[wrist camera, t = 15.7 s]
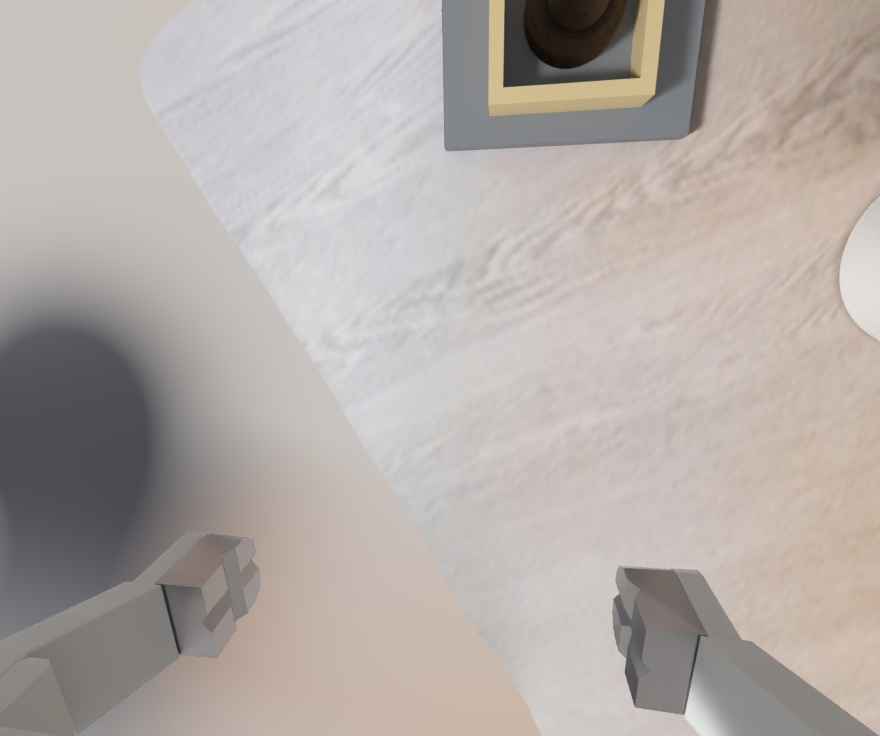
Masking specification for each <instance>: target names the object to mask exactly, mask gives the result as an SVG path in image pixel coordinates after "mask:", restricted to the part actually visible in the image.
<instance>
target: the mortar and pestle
mask: <svg viewBox="0 0 880 736" xmlns="http://www.w3.org/2000/svg"><path fill="white" fill-rule="evenodd" d="M627 1H628V0H526V6H525V12H524V30H525V36H526V39H527V42H528V45H529V47H530V49H531V50H532V52H533V53H534V54H535V56H536V57H537V58H538V59H539V60H541V61H542V62H543V63H545V64H547V65H549V66H551V67H554V68H558V69H572V68H576V67H579V66H582V65H584V64H586V63H588V62H590V61H591V60H593V59H594V58H595V57H597V56H598V55H599V54H600V53H601V52H602V51H603V50H604V49H605V47H606V46H607V45H608V43H609V42H610V40H611V39H612V37H613V36H614V34H615V32H616V30H617V28H618V26H619V24H620V22H621V20H622V18H623V15H624V12H625V9H626V5H627Z"/></svg>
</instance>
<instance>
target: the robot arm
mask: <svg viewBox="0 0 880 736" xmlns="http://www.w3.org/2000/svg"><path fill="white" fill-rule="evenodd" d="M839 279H840V290H841V295H842V299H843V302H844V304H845V307H846V309H847V311H848V313H849V314H850V316H851V317H852V319H853V320H854V321H855V322H856V324H857V325H858V326H859V327H860V328H861V329H863V330H864V331H865V332H866V333H868V334H869V335H871V336H872V337H874V338H875V339H876V340H878V341H879V342H880V196H879V197H878V198H877V199H876V200H875V201H874V202H873V203H872V204H871V205H870V206H869V207H868V208H867V210H866V211H865V212H864V214H863V215H862V216H861V218H860V219H859V221H858V222H857V224H856V225H855V227H854V229H853V231H852V233H851V234H850V236H849V239H848V241H847V243H846V246H845V249H844V252H843V256H842V260H841V265H840V278H839ZM255 553H256V550H255V545H254V541H253V540H252V539H250V538H248V537H239V536H229V535H220V534H206V533H195V532H190V533H187V534H184V535H183V536H182V537H181V538H180V539H178V540H177V541H176V542H175V543H174V544H173V545H172V546H171V547H170V548H169V549H168V550H167V551H166V552H164V553H163V554H162V555H161V556H160V557H159V558H158V559H157V560H156V561H155V562H154V563H153V564H152V565H150V566H149V567H148V568H147V569H146V570H145V571H144V572H143V573H142V574H141V575H140V576H139V577H137V578H136V579H135V580H134V581H133V582H124V583H122V584H120V585H118V586H116V587H114V588H112V589H110V590H107V591H105V592H103V593H101V594H99V595H97V596H95V597H93V598H90V599H88V600H86V601H84V602H82V603H80V604H78V605H75V606H73V607H71V608H69V609H67V610H65V611H63V612H60V613H58V614H56V615H54V616H52V617H50V618H48V619H46V620H43V621H42V622H39V623H37V624H35V625H33V626H31V627H29V628H26V629H25V630H22V631H20V632H18V633H16V634H14V635H11V636H10V637H7V638H5V639H3V640H1V641H0V736H78V734H79V733H80V732H82V731H83V730H84V729H86V728H87V727H88V726H89V725H91V724H92V723H93V722H95V721H96V720H97V719H99V718H100V717H101V716H103V715H104V714H105V713H106V712H108V711H109V710H110V709H112V708H113V707H115V706H116V705H117V704H119V703H120V702H121V701H122V700H124V699H125V698H126V697H128V696H129V695H130V694H132V693H133V692H134V691H136V690H137V689H138V688H140V687H141V686H142V685H144V684H145V683H146V682H148V681H149V680H150V679H151V678H153V677H154V676H155V675H157V674H158V673H159V672H161V671H162V670H163V669H165V668H166V667H167V666H169V665H170V664H171V663H173V662H174V661H175V660H177V659H178V658H179V655H185V656H197V657H210V658H218V656H219V655H220V653H221V652H222V650H223V649H224V647H225V646H226V644H227V643H228V642H229V640H230V639H231V637H232V635H233V634H234V633H235V631H236V623H235V621H236V620H238V619H239V618H241V617H242V616H244V615H245V614H247V613H248V612H249V610H250V609H251V607H252V606H253V604H254V602H255V600H256V597H257V594H258V591H259V588H260V572H259V568H258V567H257V566H256V564H255V563H254V562H253V561H252V560H251V559H252V558H253V556H254V555H255ZM616 584H617V587H618V590H619V594H618V595H617V596H616V597H615V598H614V599H613V611H612V614H613V629H614V634H615V639H616V643H617V647H618V651H619V652H620V653H621V654H622V655H623V656H624V657H625V658H626V665H625V675H626V679H627V682H628V686H629V689H630V692H631V696H632V699H633V703H634V706H635V708H642V709H649V710H656V711H662V712H669V713H676V714H683V715H685V719H686V720H687V721H688V722H689V723H690V725H691V726H692V727H693V728H694V729H695V731H696V732H697V733H698V734H699V735H700V736H879V735H877V734H876V733H874V732H873V731H872V730H870V729H869V728H868V727H866V726H865V725H864V724H862V723H861V722H860V721H858V720H857V719H856V718H854V717H853V716H851V715H850V714H849V713H847V712H846V711H845V710H843V709H842V708H841V707H839V706H838V705H837V704H835V703H834V702H833V701H831V700H830V699H828V698H827V697H826V696H824V695H823V694H822V693H820V692H819V691H818V690H816V689H815V688H814V687H812V686H811V685H809V684H808V683H807V682H805V681H804V680H803V679H801V678H800V677H799V676H797V675H796V674H795V673H793V672H792V671H791V670H789V669H788V668H786V667H785V666H784V665H782V664H781V663H780V662H778V661H777V660H776V659H774V658H773V657H772V656H770V655H769V654H768V653H766V652H765V651H763V650H762V649H761V648H759V647H758V646H757V645H755V644H754V643H753V642H751V641H746V640H742V639H741V638H740V636H739V634H738V633H737V631H736V629H735V628H734V626H733V625H732V623H731V621H730V620H729V618H728V616H727V615H726V613H725V611H724V610H723V608H722V606H721V605H720V603H719V601H718V600H717V598H716V597H715V595H714V593H713V592H712V590H711V588H710V587H709V585H708V583H707V582H706V580H705V578H704V577H703V575H702V574H701V573H700V572H699V571H697V570H686V569H660V568H645V567H631V566H619V567H618V570H617V574H616Z"/></svg>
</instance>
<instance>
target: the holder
mask: <svg viewBox="0 0 880 736" xmlns="http://www.w3.org/2000/svg"><path fill="white" fill-rule="evenodd" d="M705 1H706V0H628V1H627V5H626V9H625V12H624V15H623V18H622V20H621V22H620V24H619V26H618V28H617V30H616V32H615V34H614V36H613V37H612V39H611V40H610V42H609V43H608V45H607V46H606V47H605V49H604V50H603V51H602V52H601V53H600V54H599V55H598V56H597V57H595V58H594V59H593V60H591V61H590V62H588V63H586V64H584V65H582V66H579V67H576V68H572V69H558V68H554V67H551V66H549V65H547V64H545V63H543V62H542V61H541V60H539V59H538V58H537V57H536V56H535V54H534V53H533V52H532V50H531V49H530V47H529V45H528V42H527V39H526V36H525V30H524V12H525V6H526V0H442V32H443V88H444V144H445V149H446V151H460V150H480V149H499V148H519V147H538V146H558V145H577V144H597V143H616V142H636V141H655V140H675V139H682V138H683V137H685V136H687V135H688V133H689V126H690V118H691V110H692V102H693V94H694V87H695V79H696V71H697V63H698V55H699V48H700V40H701V32H702V24H703V16H704V9H705Z"/></svg>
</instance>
